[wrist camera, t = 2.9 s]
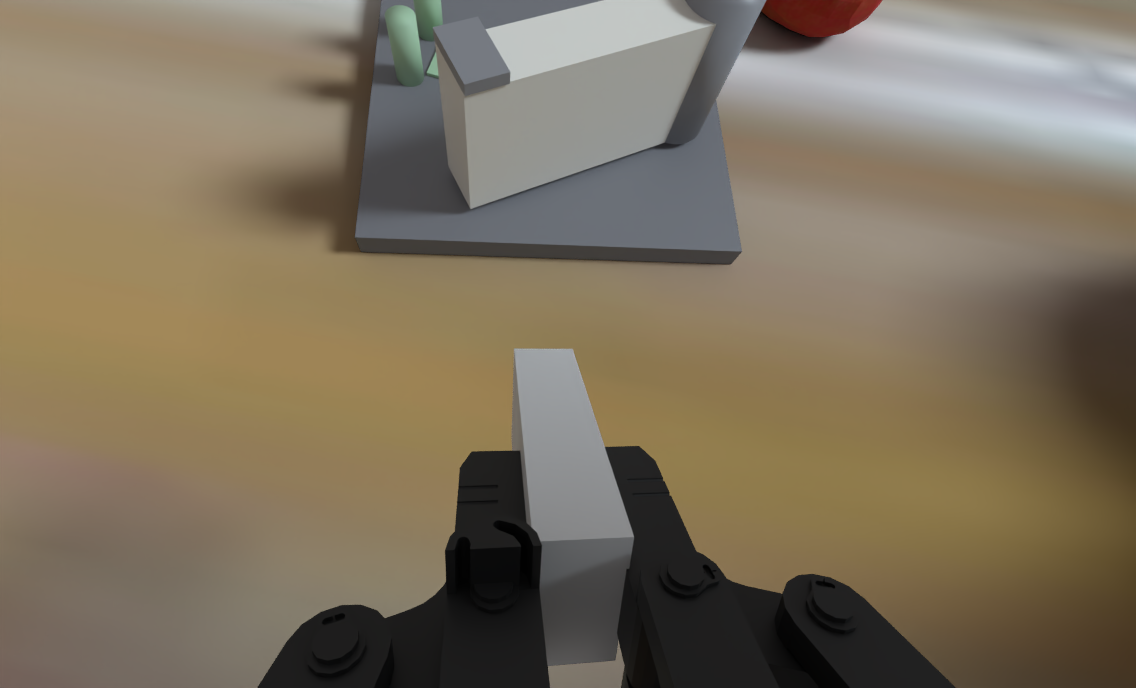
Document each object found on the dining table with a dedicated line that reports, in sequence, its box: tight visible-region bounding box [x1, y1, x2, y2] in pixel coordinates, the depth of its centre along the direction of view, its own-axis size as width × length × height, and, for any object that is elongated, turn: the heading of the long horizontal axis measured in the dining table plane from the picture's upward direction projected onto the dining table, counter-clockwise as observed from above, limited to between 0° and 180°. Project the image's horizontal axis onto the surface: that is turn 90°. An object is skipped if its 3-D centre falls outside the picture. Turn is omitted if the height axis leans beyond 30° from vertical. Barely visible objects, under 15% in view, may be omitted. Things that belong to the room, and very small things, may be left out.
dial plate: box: [355, 0, 742, 264], centre depth 32 cm, size 22×21×6 cm
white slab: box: [433, 0, 766, 209], centre depth 28 cm, size 16×4×9 cm, turn 117°
